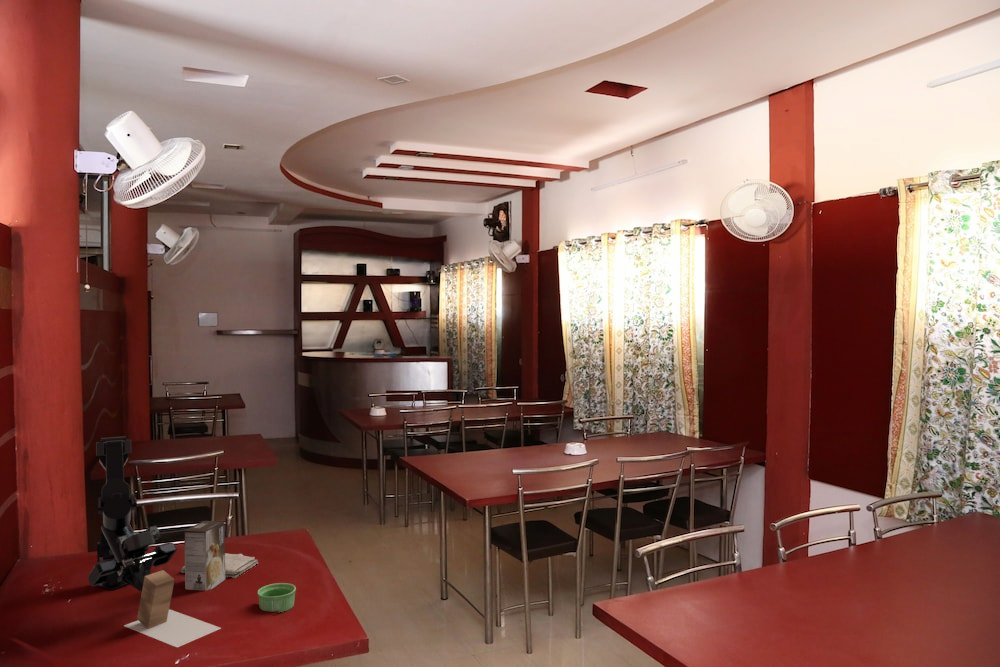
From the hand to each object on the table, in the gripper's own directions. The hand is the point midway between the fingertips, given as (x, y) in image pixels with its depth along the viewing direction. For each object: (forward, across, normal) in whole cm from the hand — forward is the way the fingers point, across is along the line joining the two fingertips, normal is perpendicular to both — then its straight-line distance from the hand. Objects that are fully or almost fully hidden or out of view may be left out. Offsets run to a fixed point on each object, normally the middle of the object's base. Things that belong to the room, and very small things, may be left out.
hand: (149, 593), depth 162 cm
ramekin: (+17, +23, -6) cm, 29 cm away
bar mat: (+10, +2, +1) cm, 10 cm away
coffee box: (-2, +22, +13) cm, 25 cm away
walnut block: (+5, 0, +4) cm, 6 cm away
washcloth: (-7, +32, +18) cm, 38 cm away
